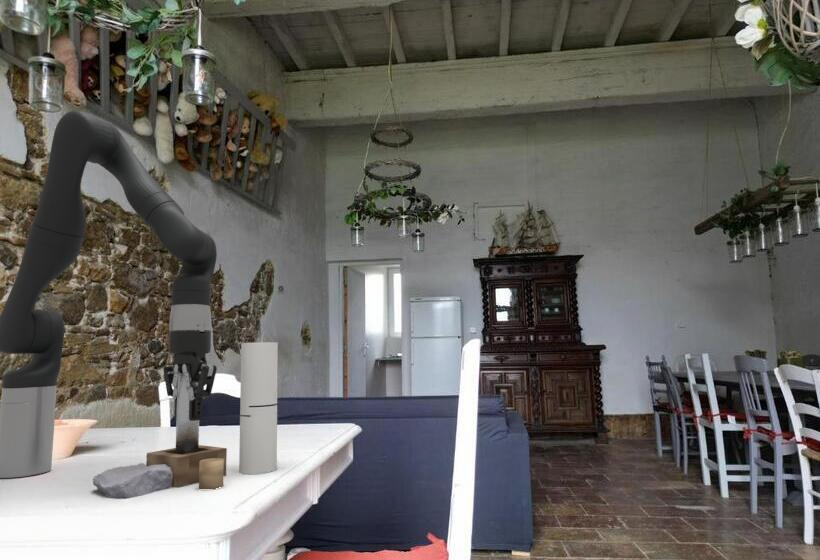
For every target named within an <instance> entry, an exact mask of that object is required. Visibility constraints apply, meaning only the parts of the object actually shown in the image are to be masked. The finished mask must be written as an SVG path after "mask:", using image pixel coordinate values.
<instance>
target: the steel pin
mask: <svg viewBox="0 0 820 560" xmlns="http://www.w3.org/2000/svg"><path fill="white" fill-rule="evenodd" d="M192 382H193V383H198V382H199V381H192ZM196 390H197V387H195V393H196ZM189 401H192V400H190V395H189V389H188V388H186V383H185V375H184V373H178V388H177V419H175V421H176V423H175V424H176V427H175V448H176V451H175V454H181V455H184V454H189V453H194V452H198V449H199V445H200V443H199V441H200V420H197V421H190V420H189Z"/></svg>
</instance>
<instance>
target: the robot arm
mask: <svg viewBox="0 0 820 560" xmlns="http://www.w3.org/2000/svg"><path fill="white" fill-rule="evenodd" d="M51 141H52V142H51V147H50V152H49V159H48V163H47V164H48V165H47V170H46V175H45V179H44V183H43V186H42V191H41V193H40V194H41V195H40V198H39V201H38V205H37V209H36V211H35V214H34V216H33V219H32V223H31V226H30V229H29V232H28V236H27V240H26V243H25V247H24V251H23V254H22V258H21V261H20V265H19V268H18V271H17V274H16V277H15V280H14V282H13V285H12V287H11V290H10V291H9V295H8V297H7V298H6V301H5V303H4V307H3V308H2V311H1V314H0V352H1V353H3V354H10V355H11V354H12V355H13V354H14V355H15V354H17V355H18V354H19V355H21V354H22V355H25V354H27V355H28V354H29V355H32V354H33V356H32V358H31V360H30V362H29V363H27V364H26V365H23V366H21V367H20V368H18V369H15V370H12V371H8V372H7V373H5V374H4V375H3V377H2V383H1V397H0V399H1V400H0V478H1V479H2V478H3V479H9V478H10V479H11V478H22V477H29V476H34V475H40V474H45V473H48V472H50V471H51V470H52V462H53V450H54V437H55V436H54V435H55V433H54V432H55V421H56V420H55V419H56V417H55V416H56V403H57V402H56V401H57V384H58V377H59V374H60V372H61V371H60V370H61V367H62V366H61V365H62V355H63V349H64V340H65V322H64V321H65V320H64V318H63V316H62V314H60V313H59V312H58V311H56V310H48V309H47V310H46V309H44V310H43V309H34V306H35V305H36V303H37V301H38V299H39V297H40V295H41V294H42V293H43V291H44V290H45V289H46V288H47V286H49V285H50V284H51V283H52V282H53V281H54V280H56V279H57V278H58V277H59V276H60V275H61V274H63V272H65V271H66V270H67V269H68V268H69V267H70V266H71V265H73V263H74V262H75V261H76V260H77V259H78V257H79V255H80V252H81V249H82V245H83V243H84V238H85V235H86V232H87V227H88V225H87V223H88V222H87V215H86V211H85V207H84V202H83V198H82V191H81V187H82V186H81V185H82V179H83V176H84V173H85V168H86V165H87V163H88V162H89V163H92V164H98V165H99V166H100V167H102V168H103V169H104V170H106V171H107V172H109V173H110V174H111V175H112V176H114V178H115V179H116V180H117V181H118V183H119V184H120V185H121V187H122V190H123V193H124V195H125V198H126V200H127V202H128V205H130V206H131V208H132V209H133V211H134V212H135V213H136V214H137V216H139V217H140V219H142V221H143V222H144V223H146V225H148V227H149V228H150V229H151V230H153V232H154V233H155V235H156V237H157V238H158V240H159V241H160V242H161V244H162V246H163V247H164V248H165V249H166V250H167V251H168V253H169V254H170V255H171V256H173V258H175V259H177V260H178V261H179V262H180V261H181V262H182V263H181V265H182V266H181V271H180V275H178V276H176V277H175V278H174V279H173V282H172V288H171V309H170V314H169V324H168V325H169V329H168V353H169V354H170V355H174V357H173V361H172V364H171V365H169V366H168V365H165V366H164V367H163V368H162V369H163V376H164V381H165V388H166V394H167V396H168V397H171V398H172V399H173V400H174V420H176V419H177V388H178V373H184V375H185V383H186V388H188V389H189V395H190V400H192V401H189V420H190V421H197V420H199V421H201V420H202V416H203V400H204V399H205V398H206V397H211V395H212V392H213V391H212V390H213V387H214V382H215V378H216V373H217V370H218V367H217V365H214V364H213V365H212V364H209V363H208V360H207V357H206V354H210V352H212V351H211V349H212V347H211V345H212V344H211V343H212V341H211V340H212V313H211V312H212V311H211V292H212V290H211V284H212V279H213V277H214V273H215V268H216V264H217V254H218V253H217V245H216V242H215V239H213V237H212V236H211V235H210V234H208V233H206V232H204V231H202V230H200V229H199V228H198V227H196V225H194V224H193V223H192V222H191V220H189V219H188V217H186V215H185V213H184V211H183V209H182V208H181V206H180V205H179V204H178V202H176V201H175V200H174V199H173V198H172V197H171V195H169V193H168V192H167V191H166V190H165V189H164V188H163V187H162V186H161V185H160V184H159V183H158V182H157V180H155V179H154V178H153V176H152V175H151V174H150V173H149V171H148V170H147V169H146V168H145V167H144V165H143V164H142V162H141V161H140V160H139V158H138V156H137V155H136V154H135V153H134V151H133V149H132V147H130V145H129V143H128V141H127V140H126V139H125V137H124V136H123V134H122V133H121V131H119V129H118V128H117V127H116V126H115V125H114V124H112V123H111V122H109V121H107V120H105V119H102V118H100V117H98V116H95V115H92V114H89V113H87V112H84V111H80V110H71V111H67V112H66V113H65V114H63V115H62V116H61V118H60V119H59V120H58V122H57V125H55V129H54V133H53V136H52V140H51ZM192 381H199V382H198V383H193V382H192ZM195 387H197V390H196V393H195Z"/></svg>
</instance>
